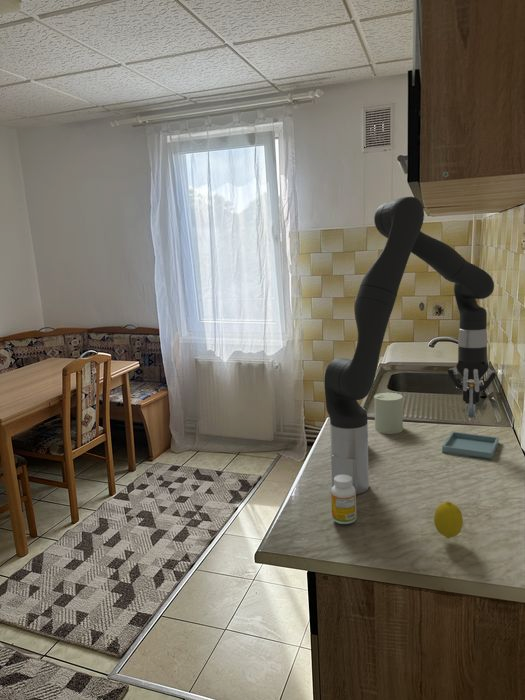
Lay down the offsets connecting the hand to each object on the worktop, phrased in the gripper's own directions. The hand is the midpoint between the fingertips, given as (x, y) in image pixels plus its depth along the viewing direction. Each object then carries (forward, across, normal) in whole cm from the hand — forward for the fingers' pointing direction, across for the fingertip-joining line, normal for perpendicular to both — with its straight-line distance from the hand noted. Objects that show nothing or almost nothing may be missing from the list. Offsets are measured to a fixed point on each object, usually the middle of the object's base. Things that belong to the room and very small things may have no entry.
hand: (471, 403), depth 147 cm
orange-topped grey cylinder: (+4, 0, 0) cm, 4 cm away
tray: (+14, 0, 0) cm, 14 cm away
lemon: (+14, +4, -51) cm, 53 cm away
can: (+14, -26, +6) cm, 31 cm away
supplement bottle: (+14, -18, -53) cm, 58 cm away
